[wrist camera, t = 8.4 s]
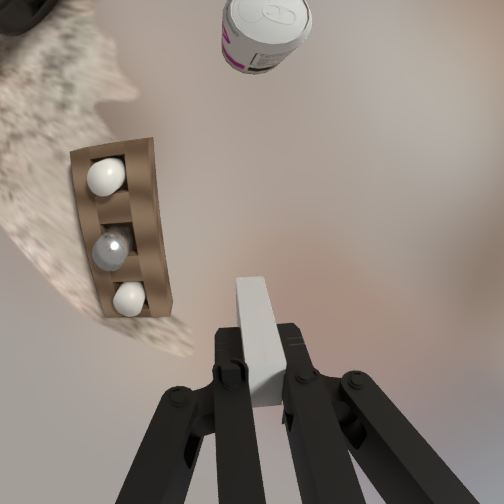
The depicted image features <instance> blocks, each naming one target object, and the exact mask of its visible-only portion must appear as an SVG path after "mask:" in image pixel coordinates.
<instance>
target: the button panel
mask: <svg viewBox="0 0 504 504" xmlns="http://www.w3.org/2000/svg"><path fill="white" fill-rule="evenodd" d="M113 156H117V157H120V158H122V159H123V160H125V164H126V174H127V181H126V183H125V184H124V185H123V186H121V187H120V188H119V189H117V190H116V191H115V192H113V193H112V194H110V195H108V196H98V195H96V194H94V193H93V192H92V191H91V190H90V188H89V186H88V183H87V174H88V171H89V169H90V168H91V166H92V165H94V164H95V163H97V162H99V161H102V160H104V159H107V158H109V157H113ZM70 158H71V167H72V175H73V182H74V189H75V195H76V201H77V207H78V213H79V218H80V223H81V228H82V233H83V237H84V242H85V246H86V250H87V255H88V259H89V263H90V267H91V270H92V274H93V278H94V281H95V285H96V288H97V292H98V295H99V298H100V302H101V305H102V308H103V311H104V314H105V317H128V316H124V315H122V314H120V313H119V312H118V311H117V310H116V309H115V307H114V304H113V299H114V296H115V294H116V292H117V290H118V288H119V286H120V284H121V283H122V282H127V281H143V282H144V287H145V291H146V298H145V301H144V303H143V306H142V309H141V312H140V313H139V314H138V315H136V316H133V317H170V314H171V309H172V304H173V299H172V293H171V288H170V282H169V275H168V269H167V263H166V256H165V249H164V242H163V235H162V227H161V219H160V210H159V201H158V191H157V180H156V169H155V156H154V141H153V137H152V138H144V139H136V140H129V141H122V142H115V143H109V144H103V145H97V146H91V147H86V148H81V149H77V150H74V151H71V152H70ZM112 226H121V227H123V228H125V229H127V230H128V231H129V233H130V234H131V236H132V239H133V246H132V249H131V251H130V252H129V254H128V256H127V257H126V259H125V261H124V263H123V264H122V266H121V267H120V268H119V269H117V270H115V271H106V270H103V269H101V268H100V267H99V266H98V265H97V264H96V263H95V262H94V260H93V257H92V248H93V246H94V244H95V243H96V242H97V241H98V239H99V238H100V237H101V236H102V235H103V234H104V233H105V231H106V230H107V229H108V228H110V227H112Z"/></svg>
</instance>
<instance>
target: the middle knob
mask: <svg viewBox="0 0 504 504" xmlns="http://www.w3.org/2000/svg"><path fill="white" fill-rule="evenodd" d="M132 246H133V239H132V236H131V234H130V233H129V231H128V230H127V229H125V228H123V227H121V226H112V227H110V228H108V229H107V230H106V231H105V233H104V234H103V235H102V236H101V237H100V238H99V239H98V241H97V242H96V243H95V244H94V246H93V248H92V257H93V260H94V262H95V263H96V264H97V265H98V266H99V267H100V268H101V269H103V270H106V271H115V270H117V269H119V268H120V267H121V266H122V264H123V263H124V261H125V259H126V257H127V256H128V254H129V252H130V251H131V249H132Z"/></svg>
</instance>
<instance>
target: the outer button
mask: <svg viewBox="0 0 504 504" xmlns="http://www.w3.org/2000/svg"><path fill="white" fill-rule="evenodd" d="M145 298H146V291H145V287H144V282H143V281H127V282H122V283H121V284H120V286H119V288H118V290H117V292H116V294H115V296H114V299H113V304H114V307H115V309H116V310H117V311H118V312H119V313H120V314H122V315H124V316H128V317H133V316H136V315H138V314H139V313H140V312H141V309H142V306H143V303H144V301H145Z"/></svg>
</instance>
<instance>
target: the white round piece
mask: <svg viewBox="0 0 504 504" xmlns="http://www.w3.org/2000/svg"><path fill="white" fill-rule="evenodd" d="M126 181H127V174H126V164H125V160H123V159H122V158H120V157H117V156H113V157H109V158H107V159H104V160H102V161H99V162H97V163H95V164H94V165H92V166H91V168H90V169H89V171H88V174H87V183H88V186H89V188H90V190H91V191H92V192H93V193H94V194H96V195H98V196H108V195H110V194H112V193H113V192H115V191H116V190H117V189H119V188H120V187H121V186H123V185H124V184H125V183H126Z"/></svg>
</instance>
